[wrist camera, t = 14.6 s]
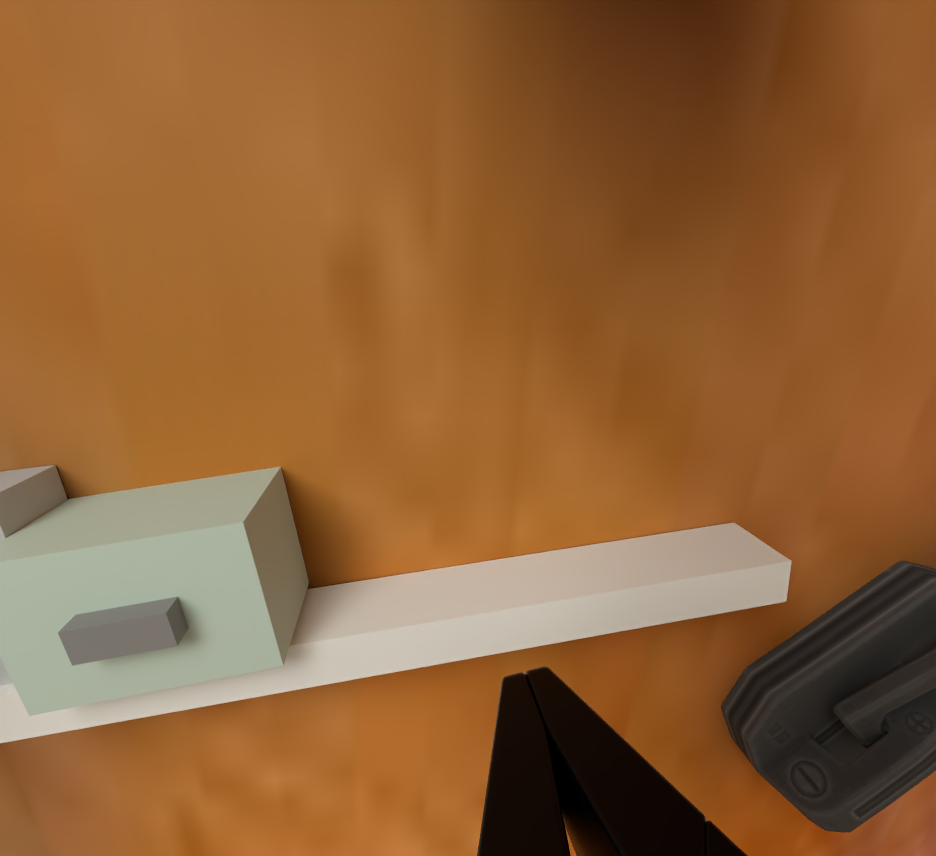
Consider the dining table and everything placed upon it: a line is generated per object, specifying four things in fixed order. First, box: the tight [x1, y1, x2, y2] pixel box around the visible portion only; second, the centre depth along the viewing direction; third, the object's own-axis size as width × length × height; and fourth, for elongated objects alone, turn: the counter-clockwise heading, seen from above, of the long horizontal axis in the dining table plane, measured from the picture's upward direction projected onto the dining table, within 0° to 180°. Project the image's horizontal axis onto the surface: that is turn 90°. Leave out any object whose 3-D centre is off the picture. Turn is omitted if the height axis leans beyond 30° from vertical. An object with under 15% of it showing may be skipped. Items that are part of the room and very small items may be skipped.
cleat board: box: [0, 465, 792, 743], centre depth 19 cm, size 9×31×4 cm, turn 95°
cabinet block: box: [0, 467, 309, 716], centre depth 17 cm, size 6×8×6 cm
